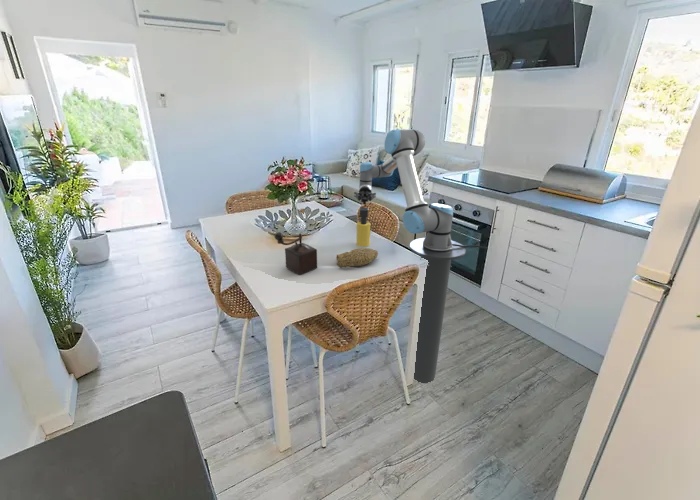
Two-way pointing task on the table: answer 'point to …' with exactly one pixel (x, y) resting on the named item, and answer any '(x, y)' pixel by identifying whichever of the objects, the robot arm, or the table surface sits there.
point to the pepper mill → (298, 255)
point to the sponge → (356, 257)
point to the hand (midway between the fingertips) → (364, 201)
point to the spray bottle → (363, 229)
